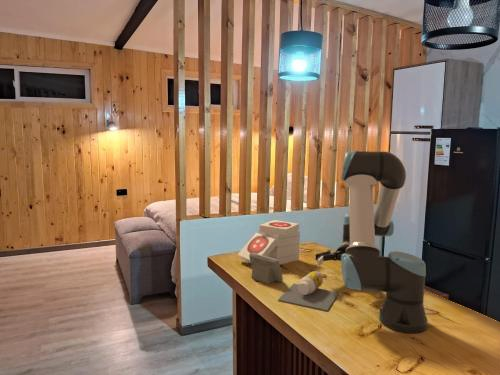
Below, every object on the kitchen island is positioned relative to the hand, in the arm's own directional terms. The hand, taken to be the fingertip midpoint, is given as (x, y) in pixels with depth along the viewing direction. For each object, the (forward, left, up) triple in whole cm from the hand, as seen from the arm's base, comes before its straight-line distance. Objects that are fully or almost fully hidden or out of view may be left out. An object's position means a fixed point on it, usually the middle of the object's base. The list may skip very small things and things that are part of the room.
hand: (334, 266), depth 149 cm
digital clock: (+24, +19, -11) cm, 32 cm away
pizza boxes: (+45, +5, -11) cm, 47 cm away
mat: (0, +11, -11) cm, 16 cm away
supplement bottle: (+7, +4, -7) cm, 11 cm away
